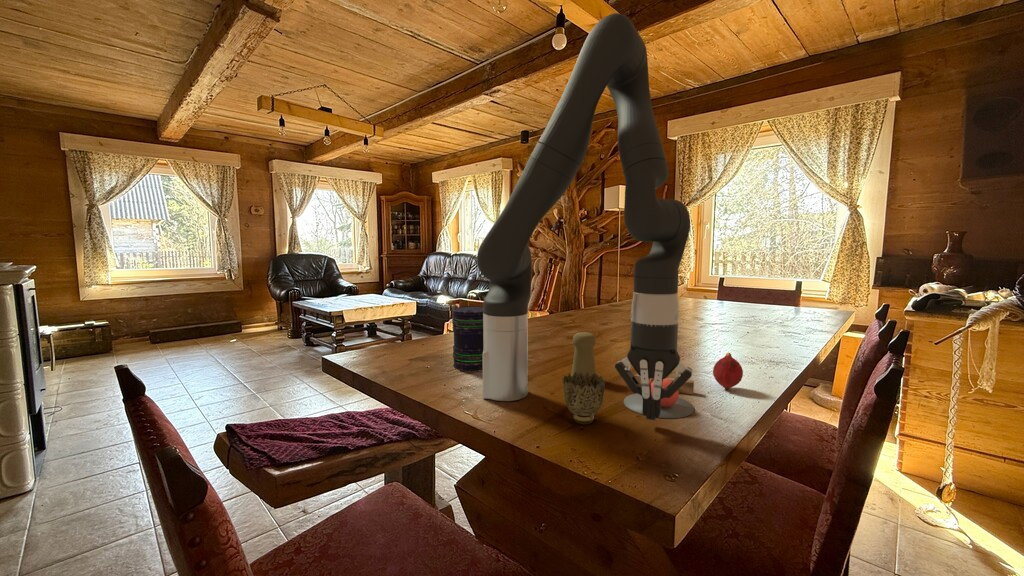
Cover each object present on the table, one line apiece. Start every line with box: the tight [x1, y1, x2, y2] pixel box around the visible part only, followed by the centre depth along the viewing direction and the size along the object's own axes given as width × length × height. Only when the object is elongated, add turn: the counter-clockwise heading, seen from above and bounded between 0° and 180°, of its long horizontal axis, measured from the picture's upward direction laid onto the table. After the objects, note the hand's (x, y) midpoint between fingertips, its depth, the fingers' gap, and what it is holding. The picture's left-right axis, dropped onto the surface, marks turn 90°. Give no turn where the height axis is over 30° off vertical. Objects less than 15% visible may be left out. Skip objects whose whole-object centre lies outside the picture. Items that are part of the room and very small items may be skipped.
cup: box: [562, 372, 606, 425], centre depth 76 cm, size 8×7×8 cm
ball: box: [651, 379, 680, 407], centre depth 84 cm, size 6×6×6 cm
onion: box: [712, 352, 744, 390], centre depth 93 cm, size 6×6×8 cm
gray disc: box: [623, 393, 695, 419], centre depth 85 cm, size 13×13×1 cm
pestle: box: [570, 331, 597, 376], centre depth 100 cm, size 6×6×11 cm
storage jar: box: [451, 305, 483, 372], centre depth 111 cm, size 10×10×15 cm
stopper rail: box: [634, 373, 695, 395], centre depth 93 cm, size 12×2×2 cm, turn 65°
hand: (651, 418), depth 74 cm, fingers closed
